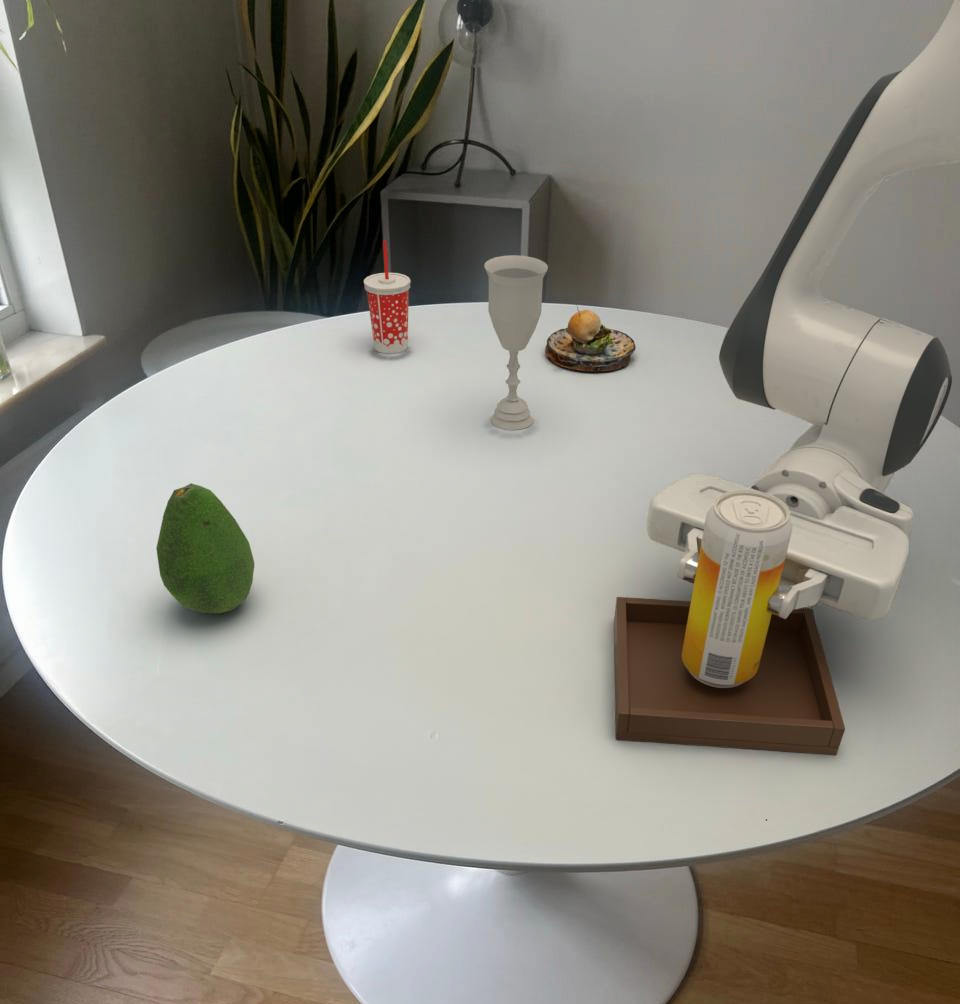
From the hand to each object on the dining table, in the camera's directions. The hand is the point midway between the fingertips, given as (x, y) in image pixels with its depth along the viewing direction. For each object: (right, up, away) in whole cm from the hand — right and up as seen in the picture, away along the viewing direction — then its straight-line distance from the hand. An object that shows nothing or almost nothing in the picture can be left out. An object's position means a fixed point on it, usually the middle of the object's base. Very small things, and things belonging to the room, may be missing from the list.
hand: (731, 590), depth 72 cm
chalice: (-15, +22, +43) cm, 51 cm away
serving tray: (+1, -7, +7) cm, 10 cm away
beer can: (0, -6, +6) cm, 9 cm away
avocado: (-43, -1, +15) cm, 45 cm away
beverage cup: (-31, +36, +60) cm, 76 cm away
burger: (-4, +34, +58) cm, 67 cm away
